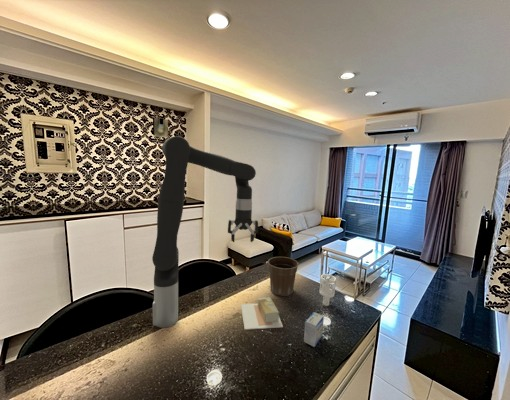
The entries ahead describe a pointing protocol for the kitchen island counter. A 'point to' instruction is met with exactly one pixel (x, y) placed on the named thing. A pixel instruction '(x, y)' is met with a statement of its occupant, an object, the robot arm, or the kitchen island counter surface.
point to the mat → (256, 318)
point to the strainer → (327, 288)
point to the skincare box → (268, 309)
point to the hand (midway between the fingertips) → (242, 241)
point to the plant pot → (282, 275)
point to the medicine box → (313, 329)
